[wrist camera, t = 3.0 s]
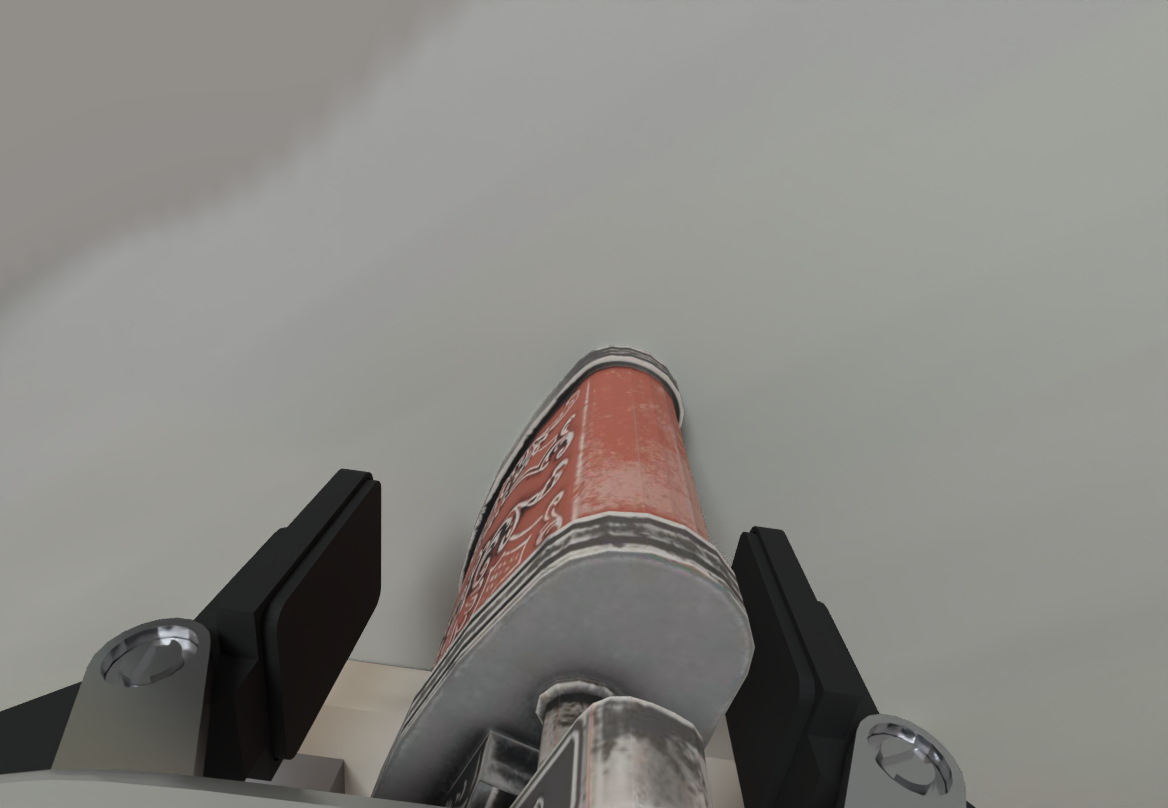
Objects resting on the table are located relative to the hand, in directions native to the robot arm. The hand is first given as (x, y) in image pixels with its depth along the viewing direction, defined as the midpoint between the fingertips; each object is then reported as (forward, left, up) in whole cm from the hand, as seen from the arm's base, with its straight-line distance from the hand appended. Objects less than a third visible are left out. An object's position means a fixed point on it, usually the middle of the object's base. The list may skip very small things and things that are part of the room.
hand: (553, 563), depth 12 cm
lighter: (0, 0, -3) cm, 3 cm away
